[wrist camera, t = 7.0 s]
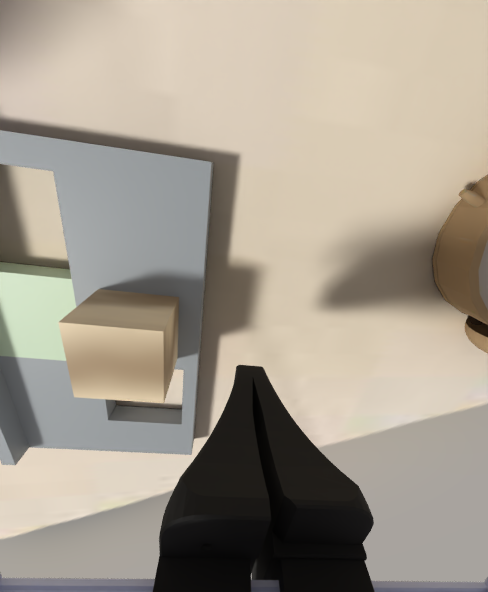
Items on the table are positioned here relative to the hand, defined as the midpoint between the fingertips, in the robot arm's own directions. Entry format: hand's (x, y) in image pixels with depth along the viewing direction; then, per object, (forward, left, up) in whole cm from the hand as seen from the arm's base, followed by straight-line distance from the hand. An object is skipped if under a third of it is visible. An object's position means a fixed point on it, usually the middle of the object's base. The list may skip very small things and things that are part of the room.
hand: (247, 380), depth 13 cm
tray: (+2, -11, -6) cm, 12 cm away
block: (0, -7, -5) cm, 9 cm away
